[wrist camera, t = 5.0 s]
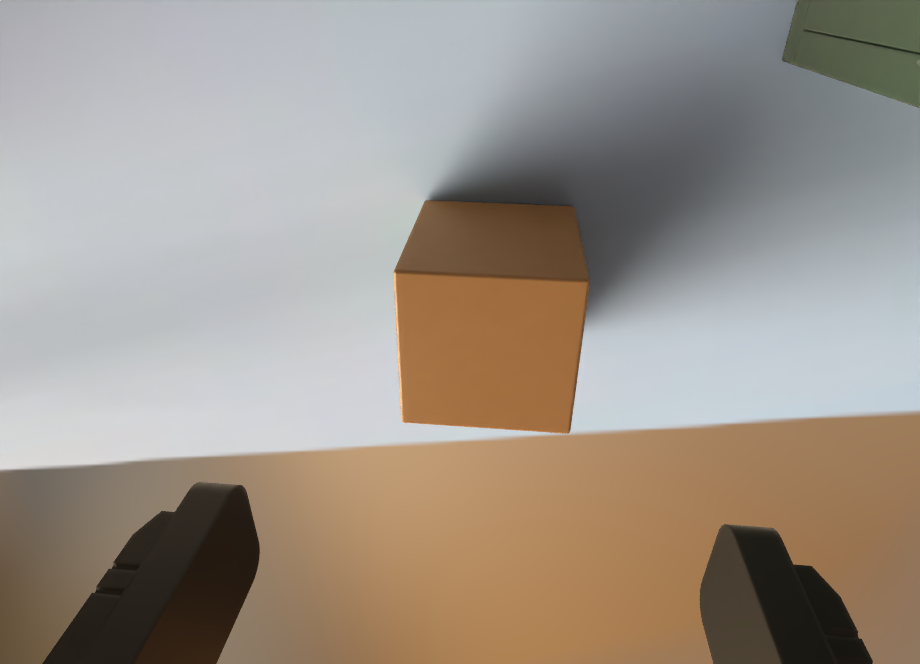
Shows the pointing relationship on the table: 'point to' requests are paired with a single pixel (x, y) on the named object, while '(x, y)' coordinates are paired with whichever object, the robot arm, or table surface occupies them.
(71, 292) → the table surface
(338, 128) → the table surface
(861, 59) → the bin
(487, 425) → the carton
